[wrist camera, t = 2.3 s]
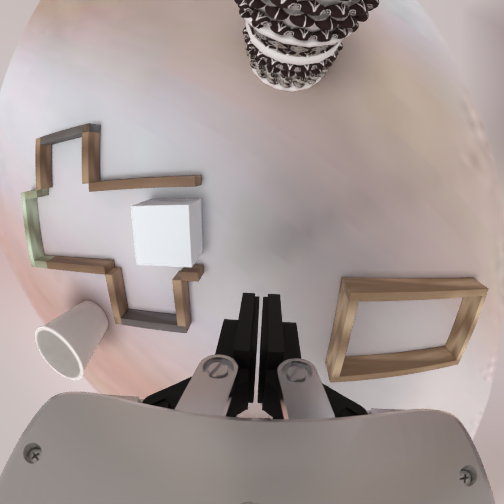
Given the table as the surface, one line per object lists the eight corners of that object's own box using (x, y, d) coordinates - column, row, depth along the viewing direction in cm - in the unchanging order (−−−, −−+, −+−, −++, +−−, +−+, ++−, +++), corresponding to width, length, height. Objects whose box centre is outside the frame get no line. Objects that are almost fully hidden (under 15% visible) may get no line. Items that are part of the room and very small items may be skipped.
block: (203, 251, 30) (191, 267, 26) (154, 249, 31) (136, 264, 26) (201, 198, 28) (188, 204, 24) (151, 199, 29) (130, 206, 24)
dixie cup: (65, 310, 35) (29, 343, 25) (86, 281, 33) (43, 316, 23) (100, 348, 36) (70, 387, 27) (125, 325, 34) (91, 368, 25)
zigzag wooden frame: (206, 323, 33) (202, 334, 31) (51, 301, 34) (42, 308, 32) (202, 111, 25) (196, 106, 23) (31, 144, 27) (20, 144, 24)
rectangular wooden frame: (447, 349, 33) (458, 364, 30) (325, 362, 34) (330, 382, 30) (473, 277, 29) (488, 288, 25) (341, 277, 30) (351, 292, 26)
